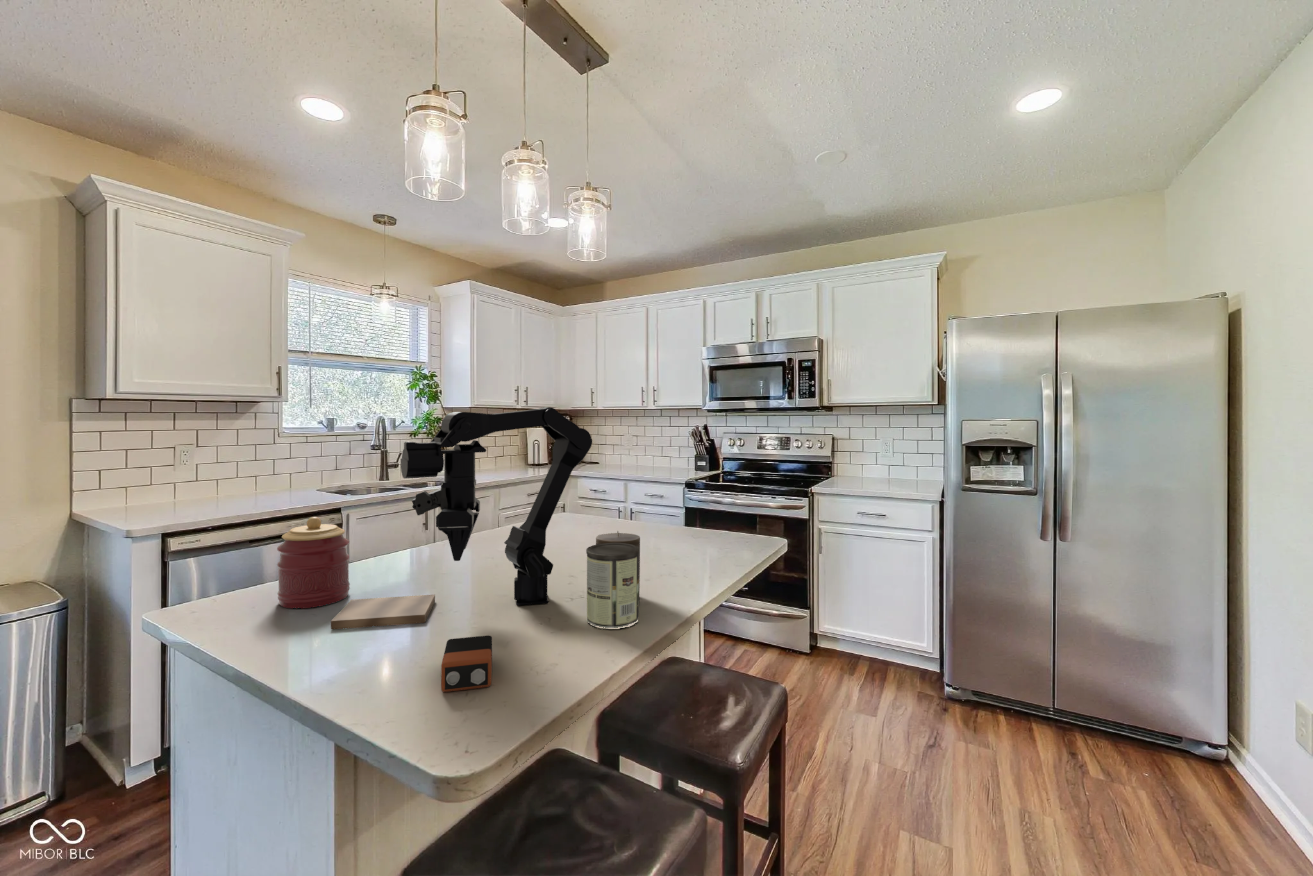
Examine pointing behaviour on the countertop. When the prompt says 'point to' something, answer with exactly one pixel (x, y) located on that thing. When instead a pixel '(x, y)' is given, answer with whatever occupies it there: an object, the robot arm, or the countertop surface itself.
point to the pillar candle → (620, 541)
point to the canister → (313, 566)
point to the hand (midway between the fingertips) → (459, 554)
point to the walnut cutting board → (384, 611)
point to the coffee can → (612, 584)
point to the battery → (467, 663)
